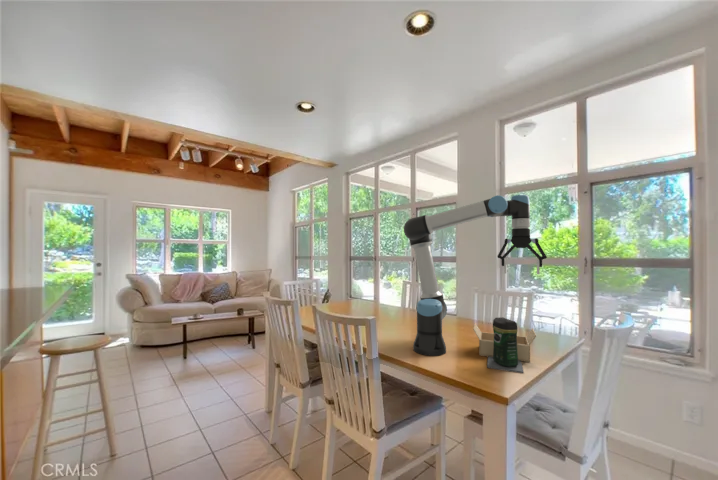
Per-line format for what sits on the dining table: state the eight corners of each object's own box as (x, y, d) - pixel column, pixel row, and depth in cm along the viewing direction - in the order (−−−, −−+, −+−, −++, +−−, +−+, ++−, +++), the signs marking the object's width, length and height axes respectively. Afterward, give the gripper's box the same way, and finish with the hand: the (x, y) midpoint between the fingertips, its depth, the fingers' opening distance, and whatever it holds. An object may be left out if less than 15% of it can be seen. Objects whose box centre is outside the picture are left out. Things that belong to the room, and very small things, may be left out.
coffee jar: (521, 367, 122) (521, 320, 122) (503, 368, 121) (503, 321, 121) (506, 358, 131) (506, 315, 132) (489, 359, 130) (489, 316, 131)
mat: (487, 367, 123) (487, 366, 123) (487, 357, 135) (487, 356, 135) (523, 373, 118) (523, 371, 118) (520, 361, 129) (520, 360, 129)
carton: (473, 354, 138) (473, 329, 139) (475, 345, 152) (475, 322, 152) (537, 363, 128) (536, 336, 128) (533, 352, 142) (532, 327, 142)
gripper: (491, 228, 144) (492, 273, 143) (553, 226, 133) (554, 275, 133) (491, 229, 151) (492, 272, 150) (550, 228, 140) (551, 274, 140)
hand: (521, 273), depth 141 cm, fingers open, 13 cm apart
